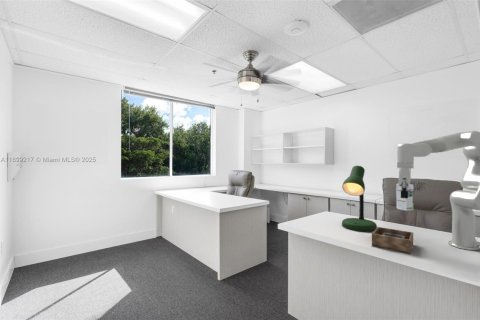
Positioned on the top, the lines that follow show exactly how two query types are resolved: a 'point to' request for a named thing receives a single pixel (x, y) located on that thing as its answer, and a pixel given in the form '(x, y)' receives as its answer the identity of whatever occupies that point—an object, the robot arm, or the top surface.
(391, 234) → the walled box
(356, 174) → the desk lamp
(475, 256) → the top surface
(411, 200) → the syrup box
